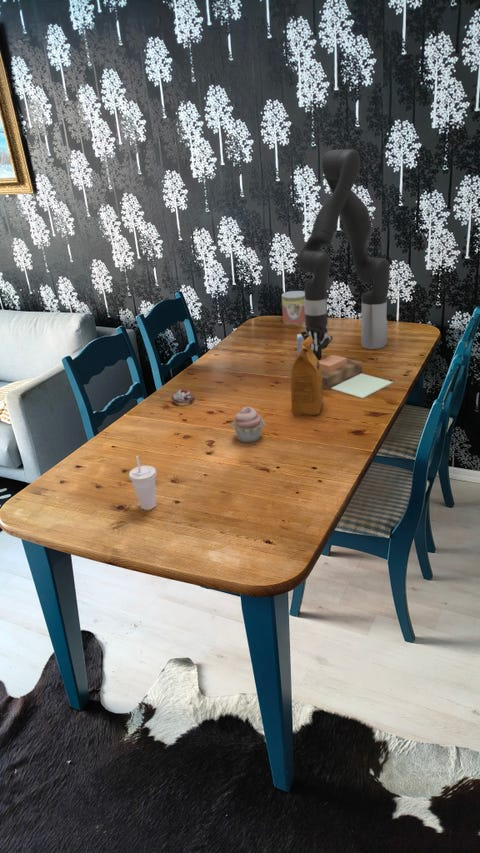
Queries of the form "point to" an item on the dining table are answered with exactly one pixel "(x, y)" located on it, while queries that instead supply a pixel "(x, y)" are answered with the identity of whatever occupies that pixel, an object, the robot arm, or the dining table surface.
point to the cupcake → (248, 425)
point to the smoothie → (144, 485)
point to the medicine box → (299, 341)
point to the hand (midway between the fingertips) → (317, 359)
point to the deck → (341, 374)
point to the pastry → (182, 398)
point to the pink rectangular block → (332, 363)
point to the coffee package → (306, 382)
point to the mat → (361, 385)
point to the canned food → (293, 307)
